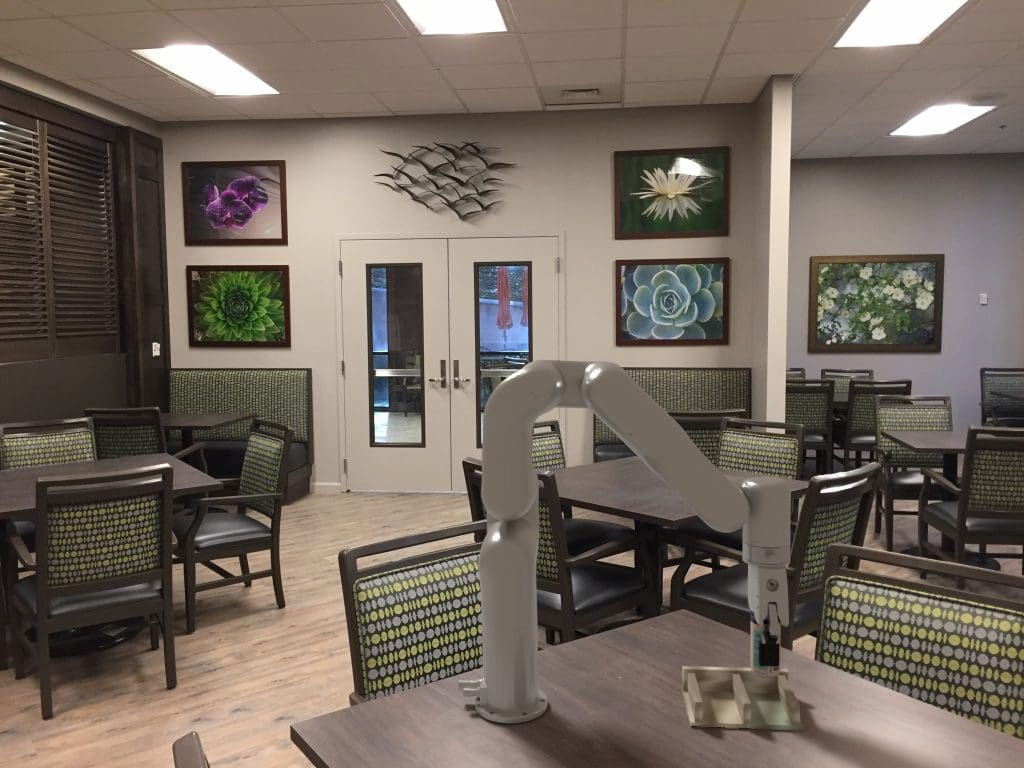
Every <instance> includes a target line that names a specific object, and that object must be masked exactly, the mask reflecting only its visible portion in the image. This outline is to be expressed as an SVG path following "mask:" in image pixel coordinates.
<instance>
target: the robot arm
mask: <svg viewBox="0 0 1024 768" xmlns="http://www.w3.org/2000/svg"><path fill="white" fill-rule="evenodd" d="M485 404H486V405H485V407H484V411H483V417H482V443H481V444H482V445H481V488H480V489H481V490H480V494H481V500H482V504H483V507H484V508H485V510H486V535H485V536H484V539H483V541H482V544H481V548H480V551H479V554H478V555H479V556H478V575H479V576H478V578H479V586H480V603H481V604H480V605H481V611H480V612H481V634H482V635H481V636H482V637H481V639H482V677H481V678H480V677H478V678H477V679H476V680H474V679H473V680H472V679H463V678H462V679H458V692H462V696H463V697H465V698H466V697H475V698H474V708H475V711H476V712H477V714H478V715H480V717H482V718H484V719H486V720H488V721H491V722H495V723H500V724H519V723H526V722H530V721H532V720H535V719H537V718H539V717H540V716H542V715H543V714H544V713H545V712H546V711H547V709H548V697H547V694H546V693H545V692H544V691H543V690H541V689H540V688H539V650H538V649H539V646H538V645H539V643H538V642H539V641H538V602H537V601H538V597H537V558H538V550H539V545H540V544H539V542H540V525H539V524H540V518H539V517H540V515H539V513H540V508H539V505H540V504H539V503H540V502H539V496H540V495H539V494H540V493H539V492H540V491H539V489H540V487H539V477H538V473H537V471H536V469H535V467H534V466H533V446H534V445H533V444H534V442H533V441H534V440H533V438H534V437H533V432H534V431H533V430H534V426H535V423H536V422H537V420H538V418H539V417H541V416H543V415H545V414H547V413H549V412H551V411H552V410H554V409H555V408H563V409H589V410H590V411H591V412H592V413H593V414H594V415H595V416H596V417H597V418H598V419H599V420H601V422H602V423H603V424H604V425H605V426H606V427H607V428H609V429H610V430H611V431H612V432H613V433H614V434H615V435H616V436H617V437H618V438H619V439H620V440H621V441H622V442H623V443H625V445H626V446H627V447H628V448H629V449H630V450H631V451H632V452H633V453H634V454H635V455H636V456H637V457H638V458H639V459H640V461H642V462H643V463H644V464H645V465H646V466H647V468H649V470H651V472H653V473H654V474H655V475H656V476H657V477H659V478H660V479H661V481H663V482H664V483H665V484H666V485H667V487H668V488H669V489H671V490H672V491H673V493H674V494H675V495H676V496H678V498H679V499H680V500H681V501H682V502H683V503H685V505H686V506H688V507H689V509H690V510H691V511H692V512H693V513H694V514H695V515H696V516H697V517H699V519H700V520H702V521H703V523H704V524H706V525H707V526H708V527H710V528H711V529H713V530H714V531H717V532H720V533H732V532H736V531H737V530H740V529H741V528H742V562H744V563H745V564H747V568H748V569H747V602H748V604H747V605H748V608H749V610H750V611H751V607H752V609H753V613H754V617H755V620H756V622H757V623H758V624H759V625H760V633H761V641H759V665H760V666H779V648H780V649H781V642H780V643H779V623H778V619H779V621H780V622H781V626H783V627H785V628H786V627H788V626H789V625H790V620H789V619H790V617H789V613H790V612H789V590H788V588H789V587H788V575H787V568H786V567H787V566H788V565H790V564H791V505H792V504H791V503H792V502H791V501H792V500H791V497H792V495H791V494H792V493H791V492H792V491H791V486H790V483H789V482H788V481H787V480H785V479H783V478H780V477H777V476H776V477H775V476H767V475H766V476H765V475H764V476H762V475H761V476H753V477H743V476H735V475H728V474H724V473H723V472H722V471H721V470H720V469H719V468H717V466H715V465H714V464H713V462H712V461H711V460H710V459H709V458H708V457H707V456H705V454H704V453H703V452H702V451H701V450H700V449H699V448H698V446H697V445H696V444H695V443H694V442H693V441H692V439H691V438H690V436H689V435H688V433H687V432H686V431H685V430H684V429H683V428H682V426H681V425H680V424H679V423H678V422H677V421H676V420H675V418H673V417H672V416H671V415H670V414H669V413H668V411H666V410H665V409H664V408H663V407H662V406H661V405H660V404H659V403H658V402H657V401H656V400H654V399H653V398H652V397H651V396H650V395H649V394H648V393H647V392H646V391H645V390H644V389H643V388H642V386H640V385H639V384H638V383H637V382H636V381H635V380H634V379H633V378H632V377H631V376H630V375H629V374H628V373H627V372H626V370H625V369H624V368H623V367H622V366H620V365H619V364H617V363H615V362H613V361H612V362H611V361H585V360H584V361H583V360H582V361H580V360H579V361H578V360H560V359H559V360H556V359H554V360H553V359H538V360H533V361H531V362H528V363H526V365H524V366H523V367H522V368H520V369H519V370H517V371H515V372H514V373H512V374H510V375H509V376H508V377H506V378H505V379H504V380H502V381H501V382H500V383H499V384H498V385H497V386H496V387H495V389H494V390H493V391H492V392H491V394H490V396H489V397H488V399H487V401H486V403H485ZM778 616H779V618H778ZM764 620H769V623H764ZM765 628H769V631H766V633H765Z"/></svg>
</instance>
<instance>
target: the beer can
mask: <svg viewBox="0 0 1024 768" xmlns="http://www.w3.org/2000/svg"><path fill="white" fill-rule="evenodd" d="M778 618H779V616H778ZM764 623H769V620H764ZM778 623H779V643H780V644H781V626H782V624H781V622H780V621H779V619H778ZM766 631H769V628H765V633H766ZM759 641H761V633H760V625H759V624H758V623H757V622H756V620H755V617H754V613H753V609H752V607H751V610H750V646H749V647H750V650H749V651H750V652H749V654H750V661H749V662H750V664H749V665H750V667H749V668H750V669H751V671H752V672H753V673H754V674H755V675H757V676H759V677H762V678H773V677H775V676H777V675H779V674H780V669H781V647H780V648H779V666H760V665H759Z"/></svg>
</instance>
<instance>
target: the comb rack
mask: <svg viewBox="0 0 1024 768" xmlns="http://www.w3.org/2000/svg"><path fill="white" fill-rule="evenodd" d="M681 668H682V679H681V680H682V688H681V690H682V696H683V699H684V700H685V701H684V705H685V704H686V705H685V709H686V708H687V709H686V713H687V717H689V718H688V721H690V722H689V725H691V726H697V727H696V728H708V727H722V728H721V729H739V728H749V729H748V730H770V729H771V730H774V731H775V730H777V731H801V732H802V731H805V725H804V723H803V721H802V719H801V704H800V702H799V700H798V699H797V696H796V694H795V693H794V691H793V689H792V686H791V685H790V683H789V670H788V669H787V668H780V674H779V675H777V676H775V677H773V678H762V677H759V676H757V675H755V674H754V673H753V672H752V671H751V669H750V667H735V666H732V667H731V666H727V667H726V666H700V665H699V666H696V665H695V666H694V665H693V666H692V665H691V666H690V665H689V666H688V665H682V667H681ZM691 726H690V727H691ZM699 726H700V727H699ZM723 727H725V728H723ZM750 728H751V729H750Z"/></svg>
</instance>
